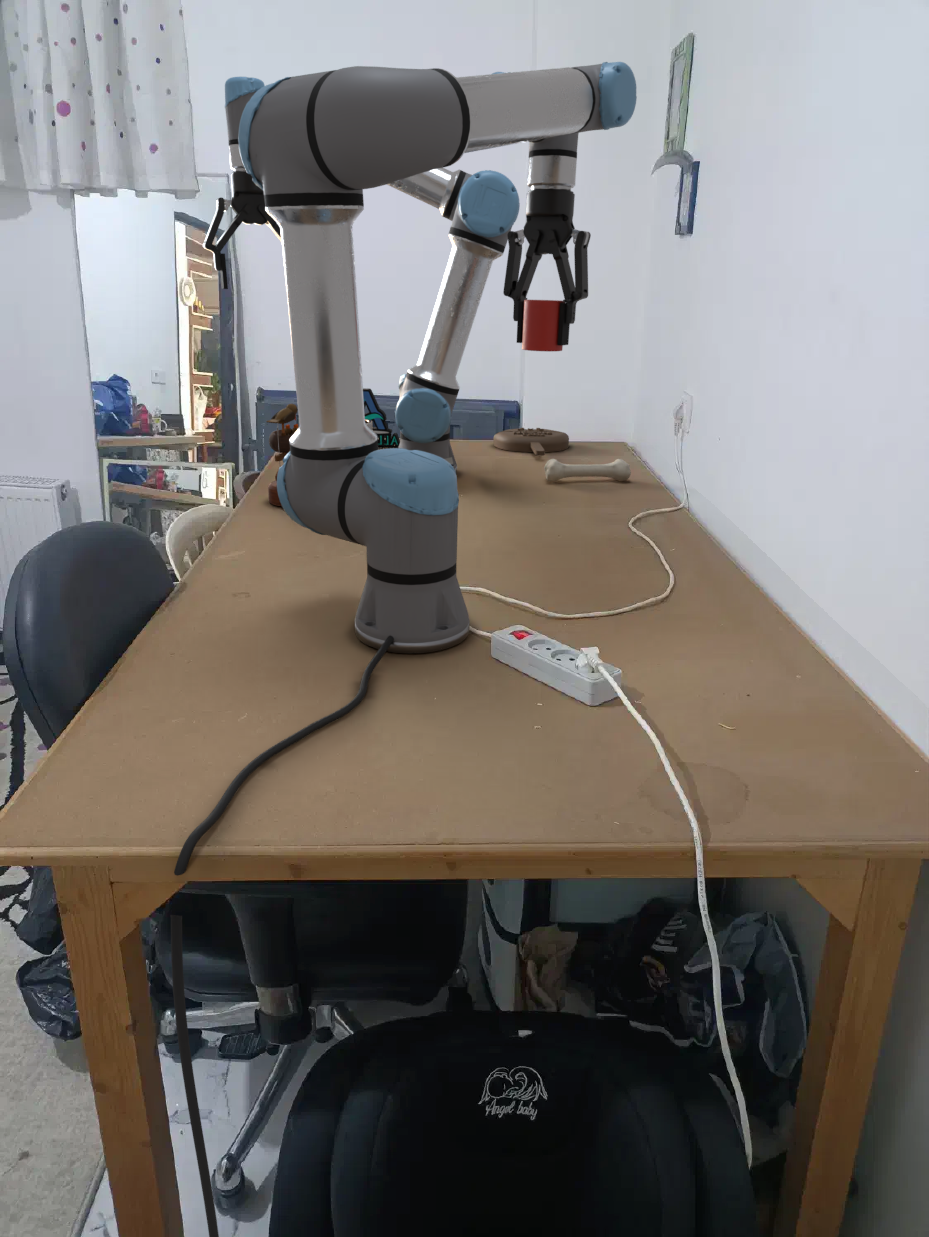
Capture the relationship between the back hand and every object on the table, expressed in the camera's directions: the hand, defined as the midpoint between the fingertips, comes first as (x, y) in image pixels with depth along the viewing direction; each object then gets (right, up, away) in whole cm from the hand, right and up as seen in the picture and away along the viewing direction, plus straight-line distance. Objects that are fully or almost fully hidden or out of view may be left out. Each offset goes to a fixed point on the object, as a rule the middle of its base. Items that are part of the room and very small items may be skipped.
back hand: (258, 289), depth 172 cm
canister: (+55, -22, -31) cm, 67 cm away
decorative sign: (+15, -20, +60) cm, 65 cm away
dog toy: (+70, -35, +24) cm, 82 cm away
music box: (+7, -42, +4) cm, 43 cm away
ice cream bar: (+61, -22, +57) cm, 86 cm away
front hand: (+55, -21, -31) cm, 67 cm away
